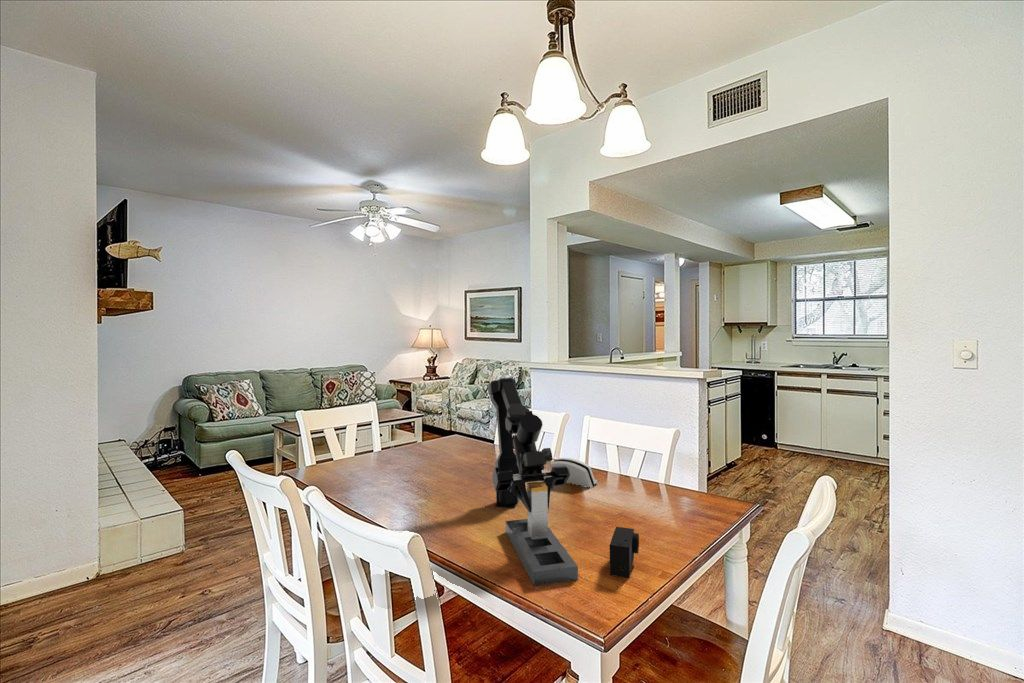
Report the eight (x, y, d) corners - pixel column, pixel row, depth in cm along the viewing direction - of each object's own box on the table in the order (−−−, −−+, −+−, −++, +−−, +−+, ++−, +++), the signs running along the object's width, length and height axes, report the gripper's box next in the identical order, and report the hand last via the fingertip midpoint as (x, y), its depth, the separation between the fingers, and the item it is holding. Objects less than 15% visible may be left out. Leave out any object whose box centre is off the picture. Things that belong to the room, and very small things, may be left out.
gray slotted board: (505, 532, 129) (505, 521, 128) (541, 528, 131) (540, 517, 131) (534, 586, 101) (533, 572, 101) (578, 579, 104) (577, 566, 103)
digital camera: (634, 579, 103) (634, 548, 103) (609, 575, 105) (609, 544, 105) (639, 557, 113) (639, 529, 113) (616, 554, 115) (616, 526, 115)
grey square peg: (527, 532, 118) (527, 482, 117) (543, 530, 118) (542, 481, 118) (532, 539, 114) (531, 488, 113) (547, 537, 115) (547, 486, 114)
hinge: (598, 484, 167) (593, 460, 164) (592, 492, 163) (586, 467, 160) (559, 475, 177) (553, 452, 174) (552, 483, 174) (546, 459, 171)
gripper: (495, 439, 117) (506, 499, 107) (567, 434, 121) (583, 491, 111) (490, 462, 125) (499, 520, 115) (557, 457, 129) (572, 512, 119)
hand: (538, 510), depth 115 cm, fingers closed on grey square peg, 4 cm apart
